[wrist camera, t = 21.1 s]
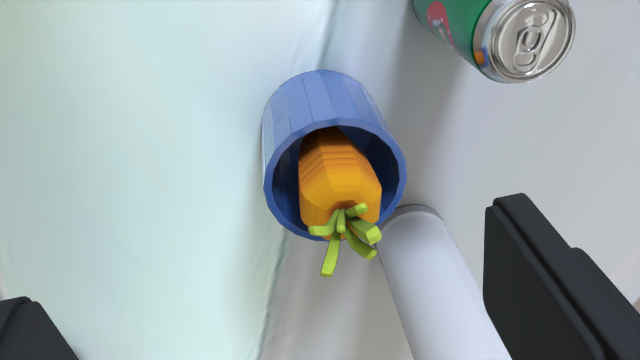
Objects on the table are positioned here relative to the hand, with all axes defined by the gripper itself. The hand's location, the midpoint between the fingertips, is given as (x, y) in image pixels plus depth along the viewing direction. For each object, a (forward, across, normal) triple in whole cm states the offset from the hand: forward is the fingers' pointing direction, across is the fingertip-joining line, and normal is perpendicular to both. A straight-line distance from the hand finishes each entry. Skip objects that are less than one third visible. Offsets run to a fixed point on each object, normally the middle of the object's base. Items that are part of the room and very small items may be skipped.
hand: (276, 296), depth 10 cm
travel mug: (+26, -9, +22) cm, 35 cm away
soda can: (+26, -13, +2) cm, 29 cm away
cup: (+26, -3, +10) cm, 28 cm away
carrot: (+26, -3, +10) cm, 27 cm away
